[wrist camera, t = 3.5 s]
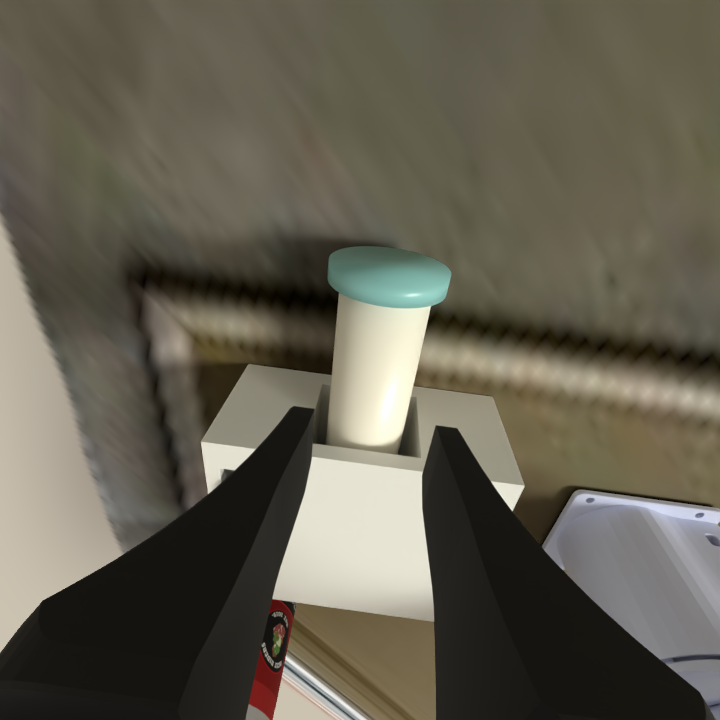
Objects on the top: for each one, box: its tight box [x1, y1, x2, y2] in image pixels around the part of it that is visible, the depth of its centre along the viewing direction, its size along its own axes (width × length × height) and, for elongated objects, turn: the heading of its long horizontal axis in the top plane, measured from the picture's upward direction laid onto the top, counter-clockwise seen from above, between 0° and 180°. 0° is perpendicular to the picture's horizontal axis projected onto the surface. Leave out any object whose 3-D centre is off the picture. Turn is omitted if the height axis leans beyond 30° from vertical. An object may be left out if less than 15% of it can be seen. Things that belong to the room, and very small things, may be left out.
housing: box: [201, 364, 525, 622], centre depth 23 cm, size 14×12×6 cm
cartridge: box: [326, 246, 451, 455], centre depth 20 cm, size 5×17×5 cm, turn 174°
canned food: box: [245, 599, 297, 720], centre depth 27 cm, size 8×8×11 cm
